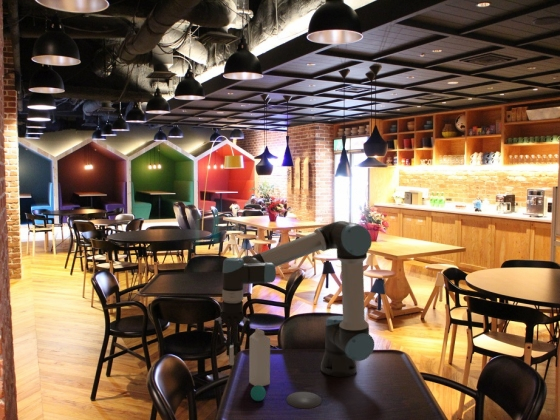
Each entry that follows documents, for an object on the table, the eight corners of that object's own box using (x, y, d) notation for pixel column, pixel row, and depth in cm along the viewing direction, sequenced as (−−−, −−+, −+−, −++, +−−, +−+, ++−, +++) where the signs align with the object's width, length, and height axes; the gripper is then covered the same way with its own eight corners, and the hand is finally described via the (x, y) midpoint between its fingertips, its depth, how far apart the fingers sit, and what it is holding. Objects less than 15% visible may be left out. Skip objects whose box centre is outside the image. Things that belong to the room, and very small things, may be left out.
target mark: (319, 392, 190) (319, 391, 190) (323, 408, 177) (323, 407, 177) (285, 392, 189) (285, 391, 189) (287, 408, 176) (287, 408, 176)
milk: (257, 388, 193) (257, 333, 191) (249, 382, 198) (249, 329, 196) (270, 384, 197) (270, 330, 195) (261, 378, 201) (261, 326, 200)
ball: (265, 396, 185) (265, 382, 185) (265, 403, 180) (265, 389, 179) (250, 396, 185) (250, 382, 185) (250, 403, 180) (250, 389, 179)
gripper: (213, 303, 175) (212, 367, 177) (250, 303, 176) (249, 368, 177) (215, 297, 183) (214, 359, 185) (250, 298, 183) (249, 360, 185)
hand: (231, 363), depth 181 cm, fingers closed
